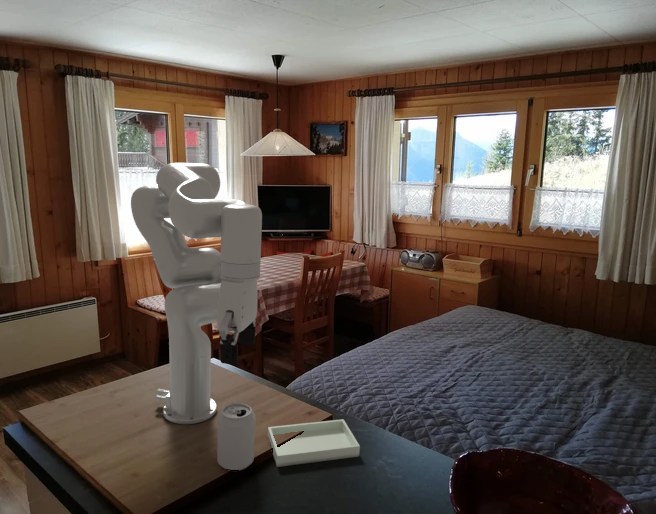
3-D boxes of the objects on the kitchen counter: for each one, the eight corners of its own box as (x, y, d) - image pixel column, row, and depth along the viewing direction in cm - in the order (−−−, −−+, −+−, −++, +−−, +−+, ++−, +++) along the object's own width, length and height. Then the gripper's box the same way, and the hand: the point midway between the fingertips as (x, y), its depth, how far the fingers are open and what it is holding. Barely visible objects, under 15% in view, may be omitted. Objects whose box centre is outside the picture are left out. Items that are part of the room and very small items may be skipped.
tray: (277, 466, 105) (277, 456, 104) (267, 437, 115) (267, 427, 115) (359, 456, 110) (359, 446, 109) (342, 428, 120) (343, 419, 120)
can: (246, 476, 101) (247, 421, 99) (211, 469, 102) (211, 415, 100) (258, 455, 108) (260, 403, 106) (225, 449, 110) (226, 398, 107)
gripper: (238, 258, 106) (236, 336, 109) (202, 278, 89) (201, 368, 93) (272, 262, 104) (270, 340, 108) (243, 282, 88) (240, 374, 91)
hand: (238, 353), depth 100 cm, fingers open, 9 cm apart
